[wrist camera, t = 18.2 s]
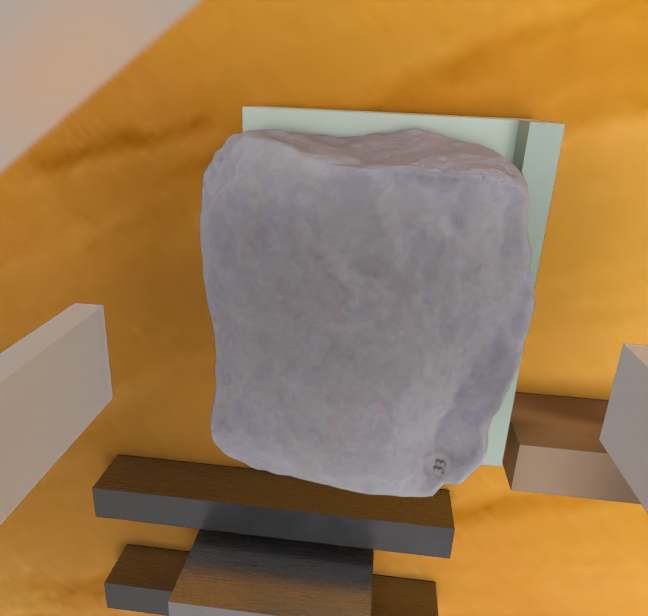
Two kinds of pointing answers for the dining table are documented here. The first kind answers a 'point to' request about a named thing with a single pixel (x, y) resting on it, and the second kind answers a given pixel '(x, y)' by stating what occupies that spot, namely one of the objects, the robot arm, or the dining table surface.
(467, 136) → the pale green ledge block
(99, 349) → the robot arm
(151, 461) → the guide
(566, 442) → the brown piece
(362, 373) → the stone block
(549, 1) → the dining table surface
